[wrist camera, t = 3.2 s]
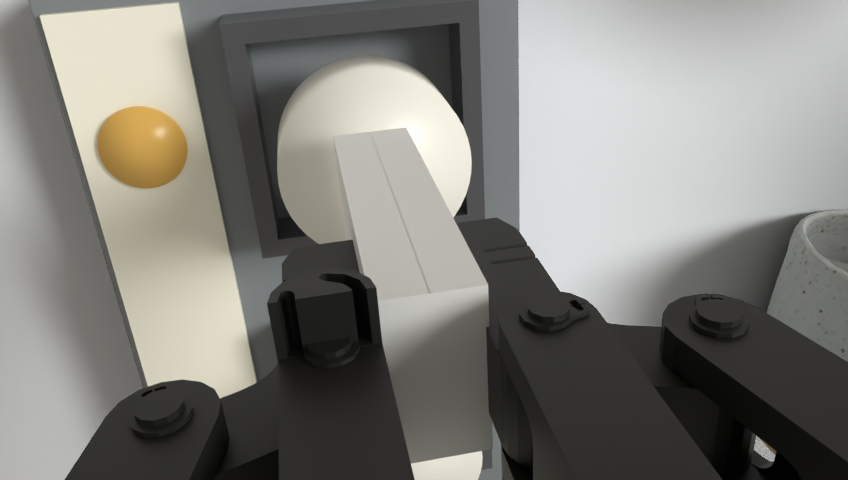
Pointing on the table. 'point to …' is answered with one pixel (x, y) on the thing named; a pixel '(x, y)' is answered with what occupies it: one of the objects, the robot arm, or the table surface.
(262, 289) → the button board
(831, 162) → the table surface
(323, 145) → the button
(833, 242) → the ceramic mug
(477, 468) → the middle button
